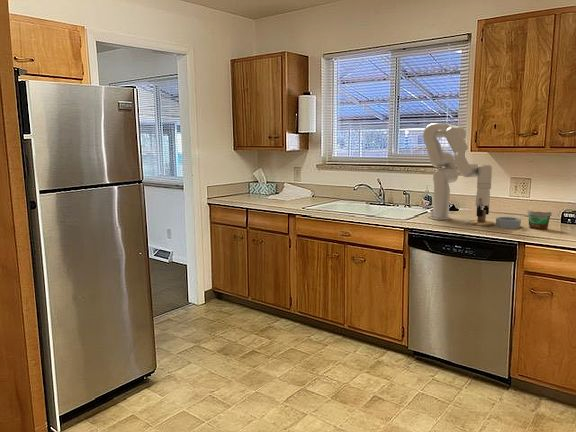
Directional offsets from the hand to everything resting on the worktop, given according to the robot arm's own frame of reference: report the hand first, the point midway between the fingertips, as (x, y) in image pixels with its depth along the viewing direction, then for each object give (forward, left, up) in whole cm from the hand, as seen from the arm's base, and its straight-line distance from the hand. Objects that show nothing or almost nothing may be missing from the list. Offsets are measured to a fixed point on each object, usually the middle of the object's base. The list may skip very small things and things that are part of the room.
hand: (482, 215), depth 275 cm
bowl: (+13, +3, -6) cm, 15 cm away
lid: (-1, 0, -5) cm, 5 cm away
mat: (-1, 0, -6) cm, 6 cm away
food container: (+27, +9, -6) cm, 30 cm away
